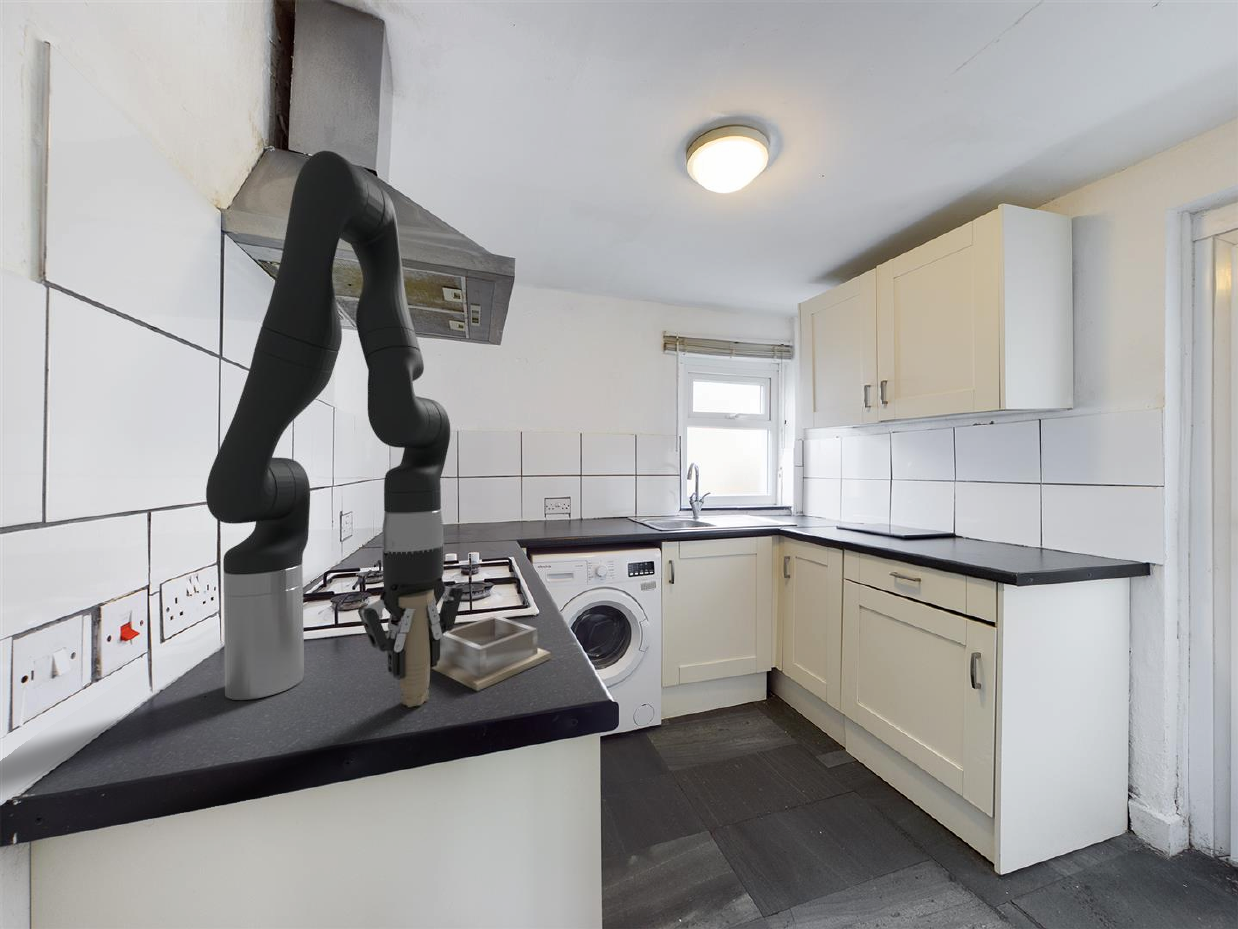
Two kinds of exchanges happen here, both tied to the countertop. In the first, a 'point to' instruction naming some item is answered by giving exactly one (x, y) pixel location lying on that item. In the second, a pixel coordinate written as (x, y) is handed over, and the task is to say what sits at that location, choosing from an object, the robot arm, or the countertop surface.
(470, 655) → the small square bin
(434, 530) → the robot arm
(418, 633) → the handle
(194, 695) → the countertop surface
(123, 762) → the countertop surface
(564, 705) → the countertop surface
